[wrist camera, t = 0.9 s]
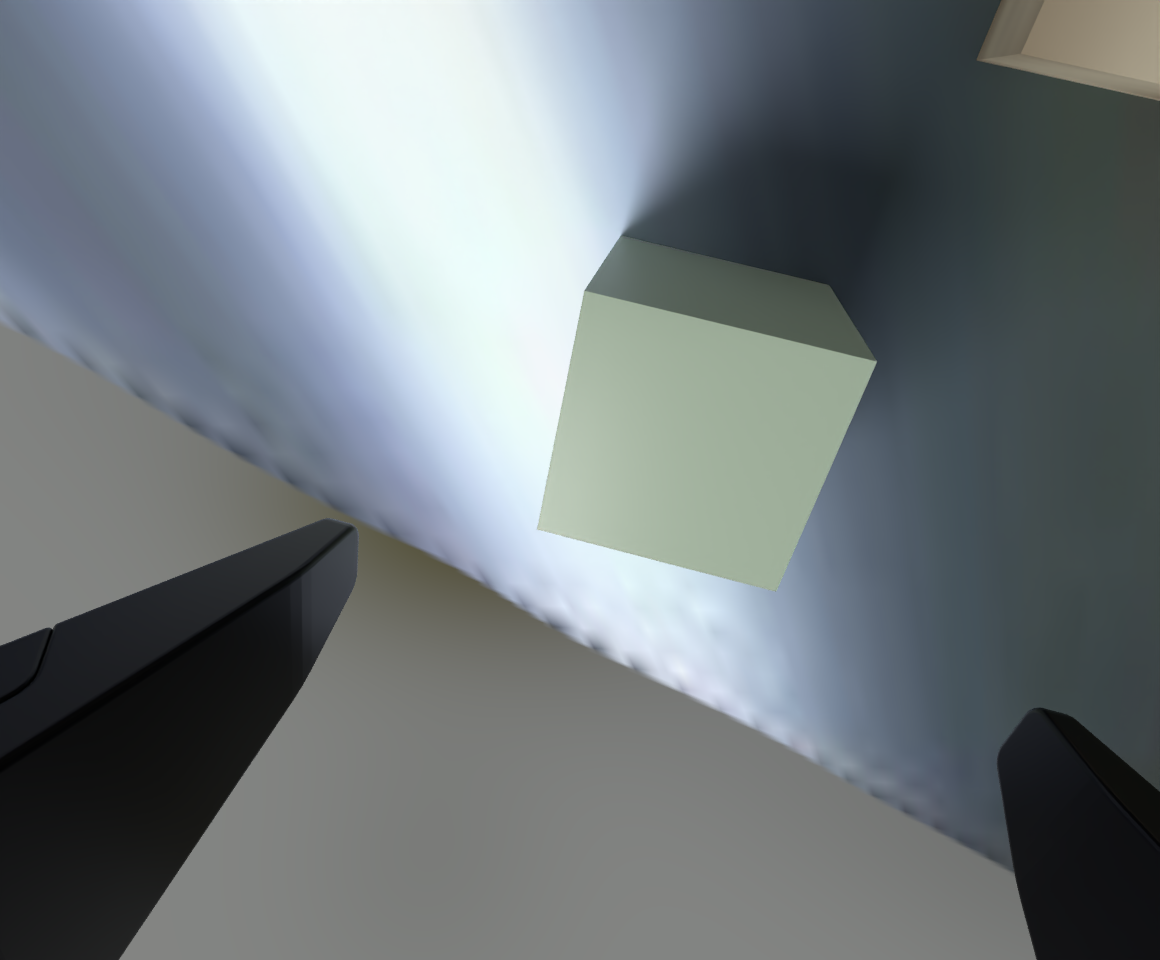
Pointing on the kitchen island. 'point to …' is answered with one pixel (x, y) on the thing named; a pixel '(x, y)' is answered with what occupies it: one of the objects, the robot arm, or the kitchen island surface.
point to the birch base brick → (1080, 42)
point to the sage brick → (701, 411)
